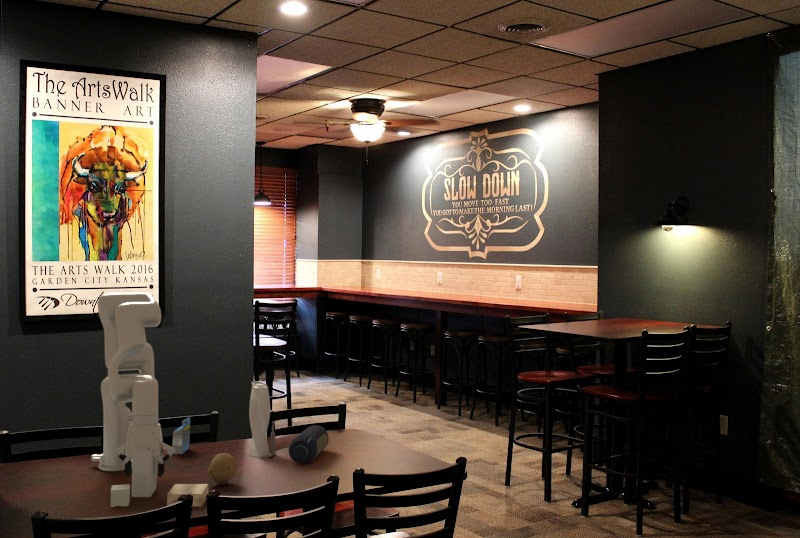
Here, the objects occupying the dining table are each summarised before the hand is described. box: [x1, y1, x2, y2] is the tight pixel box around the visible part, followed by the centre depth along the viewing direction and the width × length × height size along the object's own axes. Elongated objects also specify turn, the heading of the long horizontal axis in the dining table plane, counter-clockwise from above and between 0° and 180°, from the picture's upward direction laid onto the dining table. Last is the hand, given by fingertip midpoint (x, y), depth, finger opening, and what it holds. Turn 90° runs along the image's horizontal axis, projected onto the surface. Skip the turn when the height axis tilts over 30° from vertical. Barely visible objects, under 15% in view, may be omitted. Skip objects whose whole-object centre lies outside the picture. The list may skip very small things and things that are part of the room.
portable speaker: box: [288, 424, 330, 465], centre depth 286 cm, size 25×10×10 cm, turn 171°
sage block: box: [110, 483, 131, 508], centre depth 230 cm, size 5×5×5 cm
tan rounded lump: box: [206, 452, 238, 485], centre depth 250 cm, size 9×9×10 cm
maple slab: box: [166, 483, 209, 507], centre depth 233 cm, size 10×10×4 cm
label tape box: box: [171, 416, 191, 455], centre depth 292 cm, size 9×4×12 cm, turn 178°
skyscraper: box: [248, 380, 277, 460], centre depth 288 cm, size 8×8×28 cm
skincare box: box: [131, 448, 158, 498], centre depth 240 cm, size 8×6×15 cm
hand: (144, 475), depth 240 cm, fingers open, 9 cm apart
